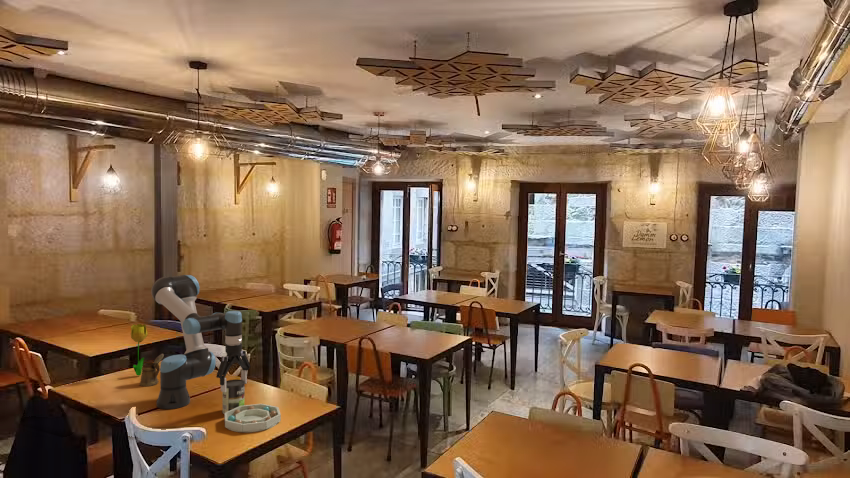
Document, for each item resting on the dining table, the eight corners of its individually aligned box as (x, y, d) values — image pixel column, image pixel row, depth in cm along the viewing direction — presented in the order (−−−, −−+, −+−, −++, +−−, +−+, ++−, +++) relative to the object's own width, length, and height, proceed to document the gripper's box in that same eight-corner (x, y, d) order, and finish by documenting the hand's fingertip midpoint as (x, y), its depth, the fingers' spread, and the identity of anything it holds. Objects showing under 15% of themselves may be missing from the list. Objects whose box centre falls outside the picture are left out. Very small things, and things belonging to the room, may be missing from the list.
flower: (127, 378, 310) (126, 325, 308) (137, 373, 318) (136, 322, 316) (140, 379, 308) (140, 326, 306) (150, 375, 316) (150, 323, 314)
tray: (213, 426, 246) (213, 417, 245) (250, 408, 268) (250, 400, 267) (255, 436, 236) (255, 427, 236) (290, 417, 258) (290, 409, 258)
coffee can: (248, 408, 268) (248, 380, 267) (237, 416, 258) (237, 386, 257) (229, 406, 270) (229, 378, 269) (217, 414, 260) (217, 384, 259)
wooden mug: (156, 388, 294) (156, 355, 293) (135, 385, 298) (135, 352, 297) (168, 383, 303) (168, 351, 302) (148, 380, 306) (148, 348, 305)
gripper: (220, 350, 249) (220, 396, 250) (257, 339, 272) (257, 381, 273) (207, 348, 252) (208, 393, 253) (245, 337, 275) (246, 379, 276)
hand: (234, 387), depth 263 cm, fingers open, 13 cm apart
